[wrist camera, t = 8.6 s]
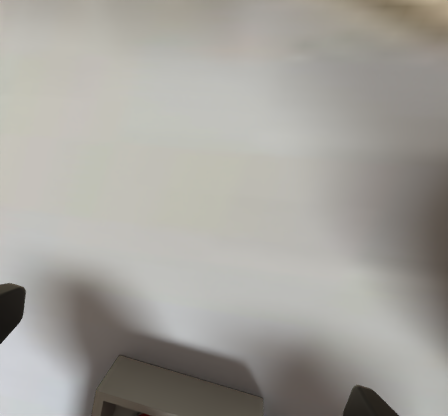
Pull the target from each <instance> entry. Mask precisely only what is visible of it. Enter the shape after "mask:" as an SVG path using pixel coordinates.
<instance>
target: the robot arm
mask: <svg viewBox="0 0 448 416" xmlns="http://www.w3.org/2000/svg"><path fill="white" fill-rule="evenodd" d="M25 295H26V291H25V288H24V287H22V286H18V285H15V284H12V283H7V284H1V285H0V344H1V343H2V342H3V341H4V340H5V338H6V337H7V336H8V335H9V334H10V333H11V332H12V331H13V329H14V328H15V327H16V326H17V325H18V324H19V322H20V321H21V319H22V316H23V312H24V303H25ZM343 416H399V415H398V414H397V413H396V412H395V411H394V410H393V409H392V408H391V407H390V406H389V405H388V404H387V403H386V402H385V401H384V400H383V399H382V398H381V397H380V396H379V395H378V394H377V393H376V392H375V391H373V390H372V389H370V388H367V387H363V386H360V385H356V386H354V387H353V389H352V391H351V394H350V396H349V399H348V401H347V404H346V406H345V409H344V412H343Z"/></svg>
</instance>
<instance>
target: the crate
mask: <svg viewBox="0 0 448 416" xmlns="http://www.w3.org/2000/svg"><path fill="white" fill-rule="evenodd" d="M140 413H145V414H148V415H151V416H263V398H261V397H257V396H254V395H251V394H247V393H244V392H241V391H237V390H234V389H231V388H227V387H224V386H221V385H217V384H214V383H211V382H207V381H204V380H201V379H197V378H194V377H191V376H187V375H184V374H181V373H177V372H174V371H171V370H167V369H164V368H161V367H157V366H154V365H151V364H147V363H144V362H141V361H137V360H134V359H131V358H127V357H124V356H121V355H119V356H118V358H117V359H116V361H115V362H114V364H113V365H112V367H111V368H110V370H109V371H108V373H107V374H106V376H105V377H104V379H103V380H102V382H101V383H100V385H99V386H98V388H97V389H96V392H95V398H94V404H93V409H92V415H91V416H137V415H138V414H140Z"/></svg>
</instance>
